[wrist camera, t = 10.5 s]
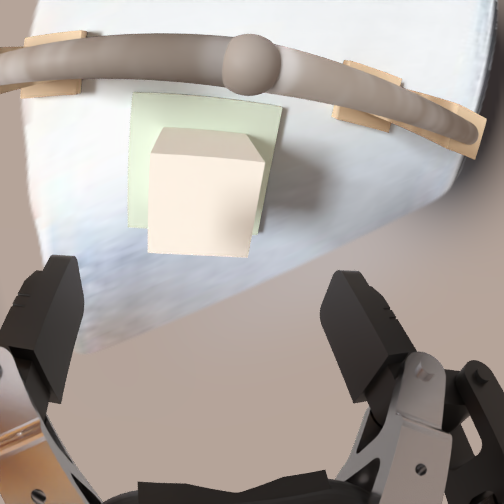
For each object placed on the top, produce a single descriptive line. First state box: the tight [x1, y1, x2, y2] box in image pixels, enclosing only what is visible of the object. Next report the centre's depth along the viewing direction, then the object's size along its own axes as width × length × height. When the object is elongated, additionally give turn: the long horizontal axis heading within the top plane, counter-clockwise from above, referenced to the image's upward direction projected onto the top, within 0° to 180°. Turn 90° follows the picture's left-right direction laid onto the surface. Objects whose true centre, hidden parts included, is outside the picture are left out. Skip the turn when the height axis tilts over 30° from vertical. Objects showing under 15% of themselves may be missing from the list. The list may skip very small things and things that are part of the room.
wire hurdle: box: [0, 30, 486, 159], centre depth 11 cm, size 4×24×15 cm, turn 80°
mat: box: [128, 92, 283, 235], centre depth 20 cm, size 9×9×1 cm
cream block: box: [148, 127, 265, 258], centre depth 17 cm, size 5×5×6 cm
